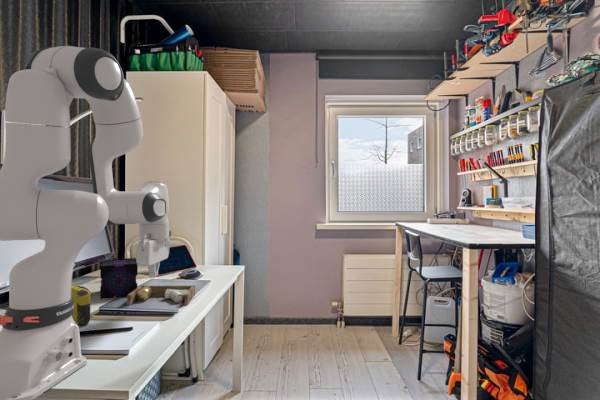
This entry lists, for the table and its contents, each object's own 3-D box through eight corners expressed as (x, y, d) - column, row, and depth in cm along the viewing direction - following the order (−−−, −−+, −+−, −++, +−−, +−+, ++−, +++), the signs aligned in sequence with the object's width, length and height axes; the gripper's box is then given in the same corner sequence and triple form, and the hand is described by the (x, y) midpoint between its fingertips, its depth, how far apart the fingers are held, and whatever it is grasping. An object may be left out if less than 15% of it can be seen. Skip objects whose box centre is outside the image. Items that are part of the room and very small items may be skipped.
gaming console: (95, 324, 102) (95, 290, 102) (79, 328, 99) (79, 293, 99) (55, 307, 116) (55, 277, 116) (40, 310, 113) (40, 279, 112)
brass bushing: (153, 295, 129) (148, 299, 124) (143, 298, 128) (137, 303, 123) (150, 285, 128) (145, 288, 123) (139, 288, 128) (133, 292, 123)
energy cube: (100, 299, 125) (100, 266, 125) (101, 291, 135) (101, 260, 135) (137, 295, 131) (137, 263, 130) (135, 287, 141) (135, 257, 141)
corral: (187, 305, 120) (187, 294, 120) (127, 305, 119) (127, 295, 119) (195, 294, 132) (195, 285, 132) (140, 295, 131) (140, 285, 131)
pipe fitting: (182, 305, 122) (190, 298, 129) (182, 294, 121) (190, 288, 128) (160, 304, 122) (168, 297, 129) (160, 293, 122) (168, 287, 129)
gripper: (153, 235, 102) (152, 283, 101) (173, 231, 122) (172, 271, 122) (131, 235, 101) (130, 283, 101) (154, 231, 122) (153, 271, 121)
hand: (153, 276), depth 111 cm, fingers closed
